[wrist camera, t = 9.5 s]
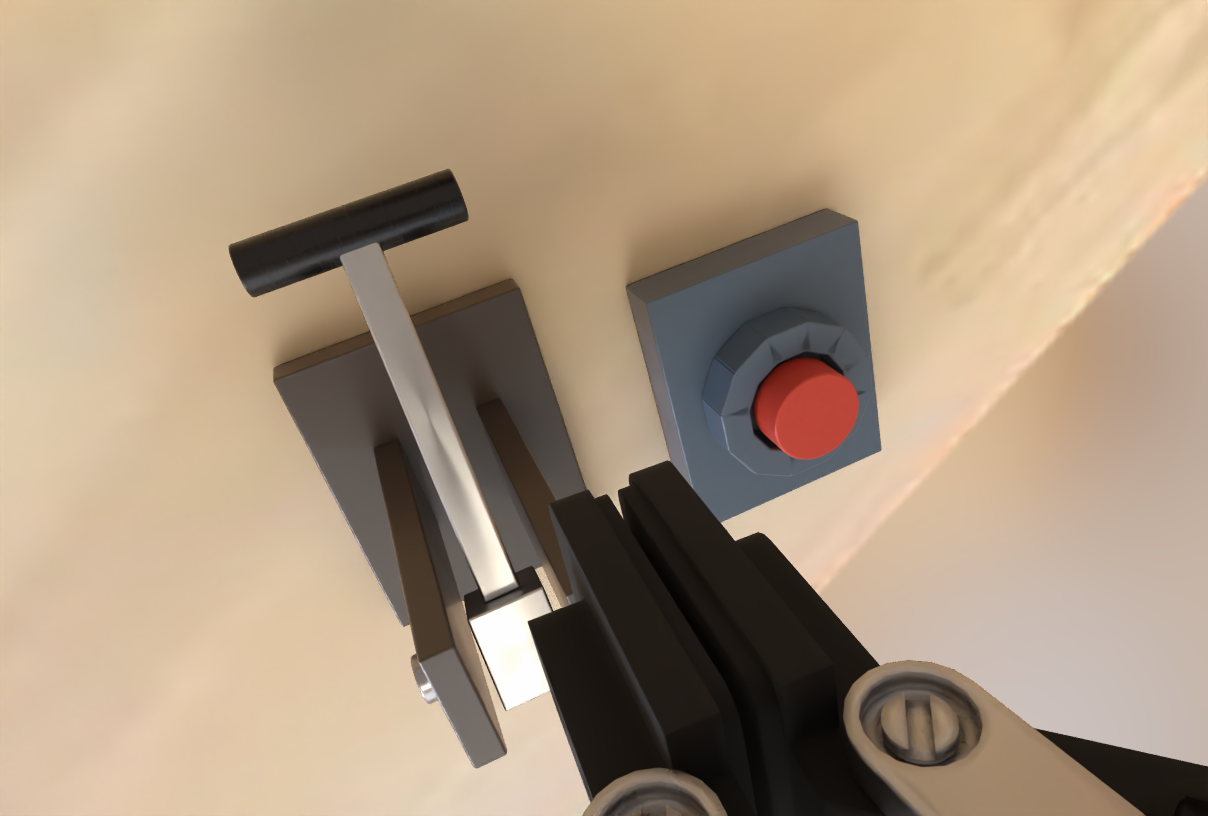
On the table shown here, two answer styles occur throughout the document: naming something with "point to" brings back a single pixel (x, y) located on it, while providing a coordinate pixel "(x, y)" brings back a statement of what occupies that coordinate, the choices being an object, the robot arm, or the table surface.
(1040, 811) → the robot arm
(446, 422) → the tap lever
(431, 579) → the bracket
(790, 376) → the red push button
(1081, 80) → the table surface
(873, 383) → the button box
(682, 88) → the table surface
